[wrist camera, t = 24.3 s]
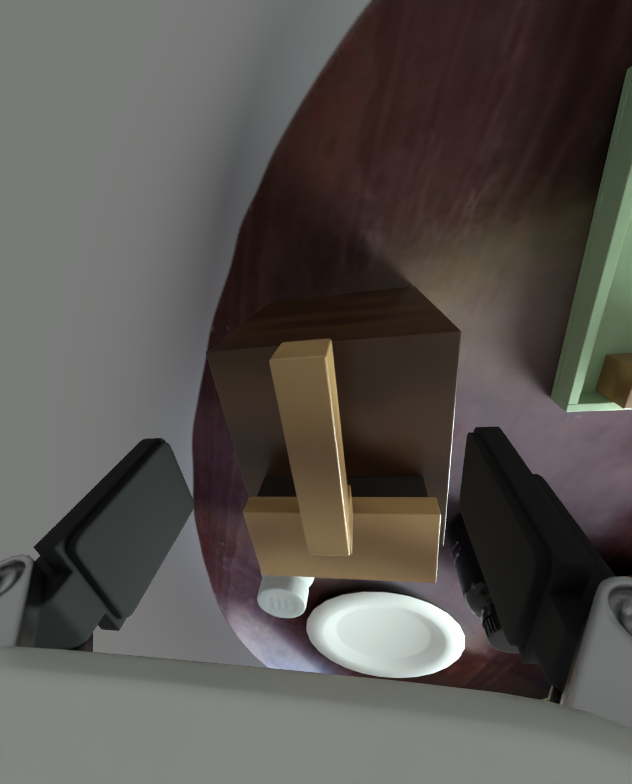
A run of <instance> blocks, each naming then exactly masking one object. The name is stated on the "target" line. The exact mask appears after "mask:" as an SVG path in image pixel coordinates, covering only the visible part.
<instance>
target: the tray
mask: <svg viewBox="0 0 632 784" xmlns="http://www.w3.org/2000/svg"><path fill="white" fill-rule="evenodd" d="M620 353H632V67H630V68H628V69H627V72H626V76H625V81H624V85H623V89H622V93H621V98H620V102H619V106H618V111H617V115H616V119H615V123H614V128H613V132H612V136H611V141H610V145H609V149H608V153H607V158H606V162H605V166H604V171H603V175H602V179H601V183H600V188H599V192H598V196H597V201H596V205H595V209H594V213H593V218H592V222H591V226H590V230H589V235H588V239H587V243H586V248H585V252H584V256H583V260H582V265H581V269H580V273H579V278H578V282H577V286H576V290H575V295H574V299H573V303H572V308H571V312H570V316H569V320H568V325H567V329H566V333H565V338H564V342H563V346H562V350H561V355H560V359H559V363H558V368H557V372H556V376H555V380H554V385H553V389H552V393H551V397H550V398H551V399H552V400H553V401H554V402H555V403H556V404H557V405H559V406H560V407H561V408H562V409H563V410H564V411H565V412H574V411H600V410H625V409H623V408H622V407H620V406H619V405H617V404H616V403H614V402H613V401H611V400H610V399H608V398H607V397H605V396H604V395H602V394H601V393H599V392H597V391H596V390H595V389H596V386H597V383H598V379H599V376H600V373H601V369H602V366H603V363H604V359H605V356H606V354H620Z"/></svg>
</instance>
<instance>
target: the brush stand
mask: <svg viewBox="0 0 632 784" xmlns="http://www.w3.org/2000/svg"><path fill="white" fill-rule="evenodd" d="M328 338H329V339H331V341H332V349H333V358H334V368H335V377H336V386H337V396H338V405H339V414H340V424H341V433H342V443H343V452H344V461H345V471H346V477H355V476H423V477H424V480H425V484H426V488H427V492H428V496H429V497H436V499H437V502H438V506H439V509H440V513H441V521H440V535H439V546H444V536H445V523H446V511H447V499H448V487H449V475H450V462H451V450H452V438H453V426H454V413H455V401H456V389H457V377H458V365H459V352H460V340H461V331H460V330H459V329H458V328H457V327H456V326H455V325H454V324H453V323H452V322H451V321H450V320H449V319H448V318H447V317H446V316H445V315H444V314H443V313H442V312H441V311H440V310H439V309H438V308H437V307H436V306H434V305H433V304H432V303H431V302H430V301H429V300H428V299H427V298H426V297H425V296H424V295H423V294H422V293H421V292H420V291H419V290H418V289H417V288H416V287H415V286H413V287H404V288H395V289H386V290H377V291H368V292H358V293H349V294H340V295H331V296H322V297H312V298H303V299H294V300H285V301H276V302H271V303H270V304H268V305H267V306H266V307H264V308H263V309H262V310H260V311H259V312H258V313H257V314H255V315H254V316H253V317H251V318H250V319H249V320H247V321H246V322H245V323H243V324H242V325H241V326H240V327H238V328H237V329H236V330H234V331H233V332H232V333H230V334H229V335H228V336H227V337H225V338H224V339H223V340H221V341H220V342H219V343H217V344H216V345H215V346H213V347H212V348H211V349H210V350H208V351H207V352H206V355H207V359H208V362H209V365H210V369H211V372H212V375H213V379H214V382H215V386H216V389H217V392H218V396H219V399H220V402H221V406H222V409H223V412H224V416H225V419H226V423H227V426H228V429H229V433H230V436H231V439H232V443H233V446H234V449H235V453H236V456H237V460H238V463H239V466H240V470H241V473H242V476H243V480H244V483H245V486H246V490H247V493H248V497H257V495H258V492H259V490H260V487H261V485H262V482H263V479H264V478H265V477H293V476H292V471H291V466H290V461H289V456H288V451H287V446H286V442H285V437H284V432H283V427H282V422H281V417H280V412H279V407H278V403H277V398H276V393H275V388H274V383H273V378H272V373H271V368H270V363H269V360H270V358H271V357H272V356H273V354H274V353H275V352H276V350H277V349H278V347H279V346H280V345H281V343H283V342H293V341H305V340H316V339H328Z"/></svg>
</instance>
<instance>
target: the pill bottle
mask: <svg viewBox="0 0 632 784" xmlns="http://www.w3.org/2000/svg"><path fill="white" fill-rule="evenodd" d="M261 575H262V572H261ZM262 577H263V579H262V581H261V584H260V589H259V592H258V596H257V601H258V604H259V606H260V607H261V608H262V609H263V610H264V611H266V612H267V613H269V614H271V615H273V616H277V617H281V618H294V617H298V616H300V615H301V614H303V613H304V611H305V609H306V604H307V598H308V593H309V589H308V588H309V587H310V586H311V584H312V583H313V581H314V577H296V576H275V575H262Z"/></svg>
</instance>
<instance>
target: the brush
mask: <svg viewBox="0 0 632 784" xmlns="http://www.w3.org/2000/svg"><path fill="white" fill-rule="evenodd" d="M269 363H270V368H271V373H272V378H273V383H274V388H275V393H276V398H277V403H278V407H279V412H280V417H281V422H282V427H283V432H284V437H285V442H286V446H287V451H288V456H289V461H290V466H291V471H292V476H293V477H265V478H264V479H263V482H262V485H261V487H260V490H259V492H258V495H257V497H249V498H248V501H247V503H246V506H245V508H244V510H243V515H244V518H245V521H246V524H247V528H248V531H249V534H250V537H251V540H252V543H253V546H254V550H255V553H256V556H257V559H258V562H259V565H260V568H261V572H262V575H275V576H296V577H318V578H339V579H360V580H381V581H402V582H423V583H436V577H437V563H438V549H439V535H440V521H441V513H440V509H439V506H438V502H437V499H436V497H429V496H428V492H427V488H426V484H425V480H424V477H423V476H355V477H346V471H345V461H344V452H343V443H342V433H341V424H340V414H339V405H338V396H337V386H336V377H335V368H334V358H333V349H332V341H331V339H329V338H328V339H316V340H305V341H293V342H283V343H281V345H280V346H279V347H278V349H277V350H276V352H275V353H274V354H273V356H272V357H271V358H270V360H269Z"/></svg>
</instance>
